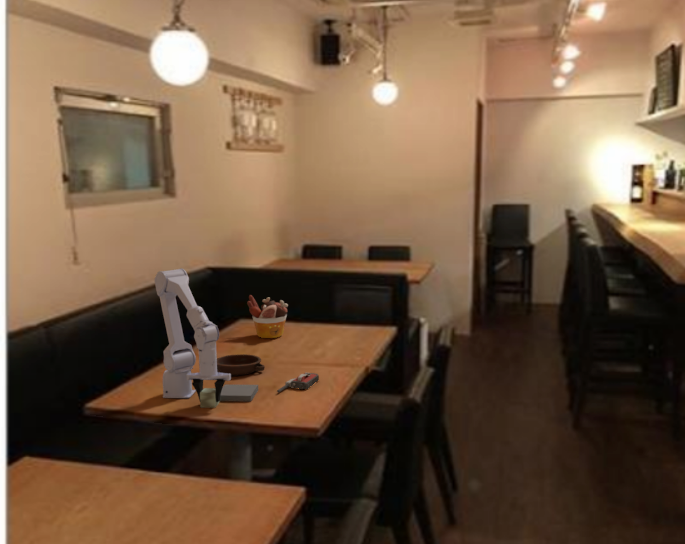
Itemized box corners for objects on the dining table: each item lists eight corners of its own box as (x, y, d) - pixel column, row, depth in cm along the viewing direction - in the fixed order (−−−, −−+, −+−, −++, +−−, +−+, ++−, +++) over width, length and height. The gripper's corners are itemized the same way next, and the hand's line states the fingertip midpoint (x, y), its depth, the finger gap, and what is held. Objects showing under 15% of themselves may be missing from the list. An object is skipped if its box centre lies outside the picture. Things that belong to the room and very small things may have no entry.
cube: (200, 407, 220) (199, 392, 220) (204, 402, 225) (204, 388, 225) (215, 407, 220) (214, 393, 219) (219, 402, 225) (218, 388, 224)
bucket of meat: (293, 332, 324) (292, 292, 322) (284, 341, 308) (283, 298, 306) (254, 331, 328) (252, 291, 325) (243, 339, 312) (241, 298, 309)
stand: (216, 401, 227) (215, 395, 226) (225, 389, 238) (225, 384, 238) (250, 401, 226) (250, 395, 225) (258, 390, 237) (258, 384, 237)
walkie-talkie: (299, 378, 251) (275, 395, 233) (299, 367, 251) (274, 382, 232) (321, 381, 248) (297, 397, 230) (321, 369, 248) (297, 385, 229)
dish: (255, 380, 250) (255, 367, 249) (202, 376, 256) (201, 364, 255) (272, 367, 267) (272, 355, 266) (221, 364, 272) (221, 352, 272)
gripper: (182, 364, 217) (184, 404, 219) (226, 364, 216) (228, 405, 218) (189, 358, 224) (191, 397, 226) (231, 358, 223) (233, 398, 225)
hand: (209, 400), depth 223 cm, fingers closed on cube, 5 cm apart
